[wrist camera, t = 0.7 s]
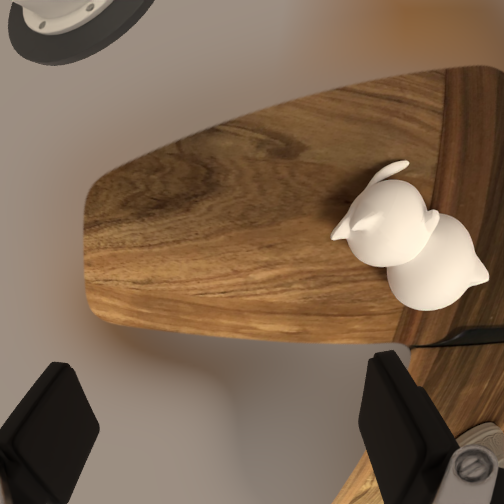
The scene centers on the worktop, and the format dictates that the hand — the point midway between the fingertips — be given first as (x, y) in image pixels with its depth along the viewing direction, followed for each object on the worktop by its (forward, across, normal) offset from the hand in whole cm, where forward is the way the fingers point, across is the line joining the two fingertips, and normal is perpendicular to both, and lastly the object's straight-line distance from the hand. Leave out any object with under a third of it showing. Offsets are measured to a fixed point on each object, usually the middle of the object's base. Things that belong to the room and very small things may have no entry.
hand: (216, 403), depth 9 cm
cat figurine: (+18, -14, -1) cm, 23 cm away
